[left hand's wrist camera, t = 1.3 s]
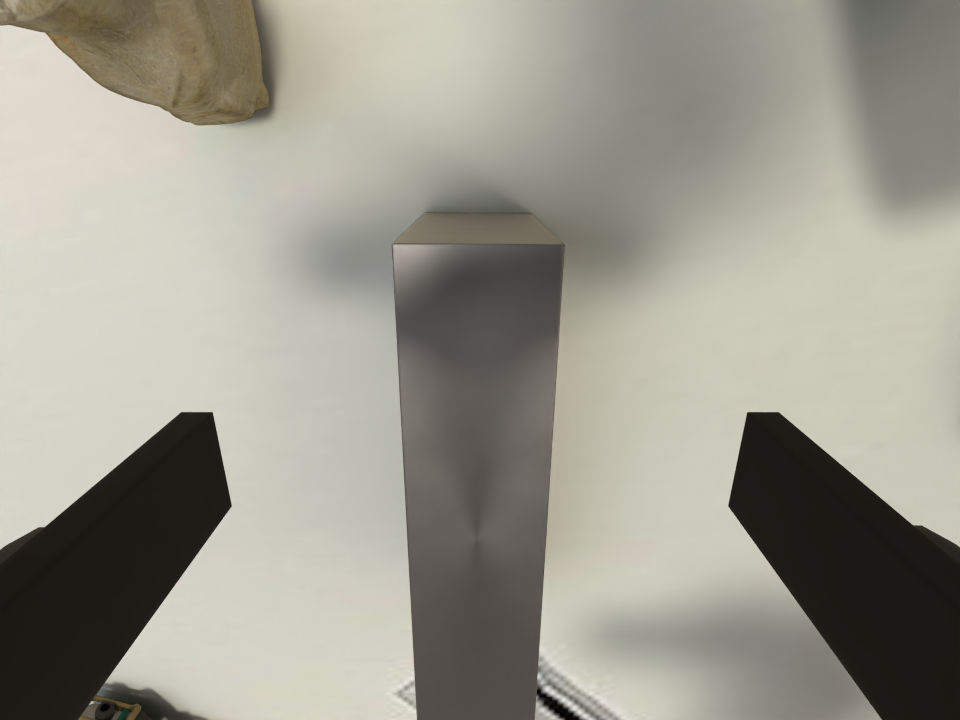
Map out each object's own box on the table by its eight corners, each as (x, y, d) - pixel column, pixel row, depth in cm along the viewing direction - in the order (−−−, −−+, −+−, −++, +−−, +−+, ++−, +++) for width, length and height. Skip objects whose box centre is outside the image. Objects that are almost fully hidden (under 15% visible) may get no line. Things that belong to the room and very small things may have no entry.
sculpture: (267, -34, 26) (24, -258, 12) (295, 123, 29) (122, 86, 15) (153, -23, 26) (-217, -234, 12) (191, 132, 29) (-78, 103, 15)
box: (424, 212, 31) (391, 243, 19) (531, 213, 31) (564, 244, 19) (435, 568, 40) (417, 734, 28) (517, 568, 40) (533, 734, 28)
